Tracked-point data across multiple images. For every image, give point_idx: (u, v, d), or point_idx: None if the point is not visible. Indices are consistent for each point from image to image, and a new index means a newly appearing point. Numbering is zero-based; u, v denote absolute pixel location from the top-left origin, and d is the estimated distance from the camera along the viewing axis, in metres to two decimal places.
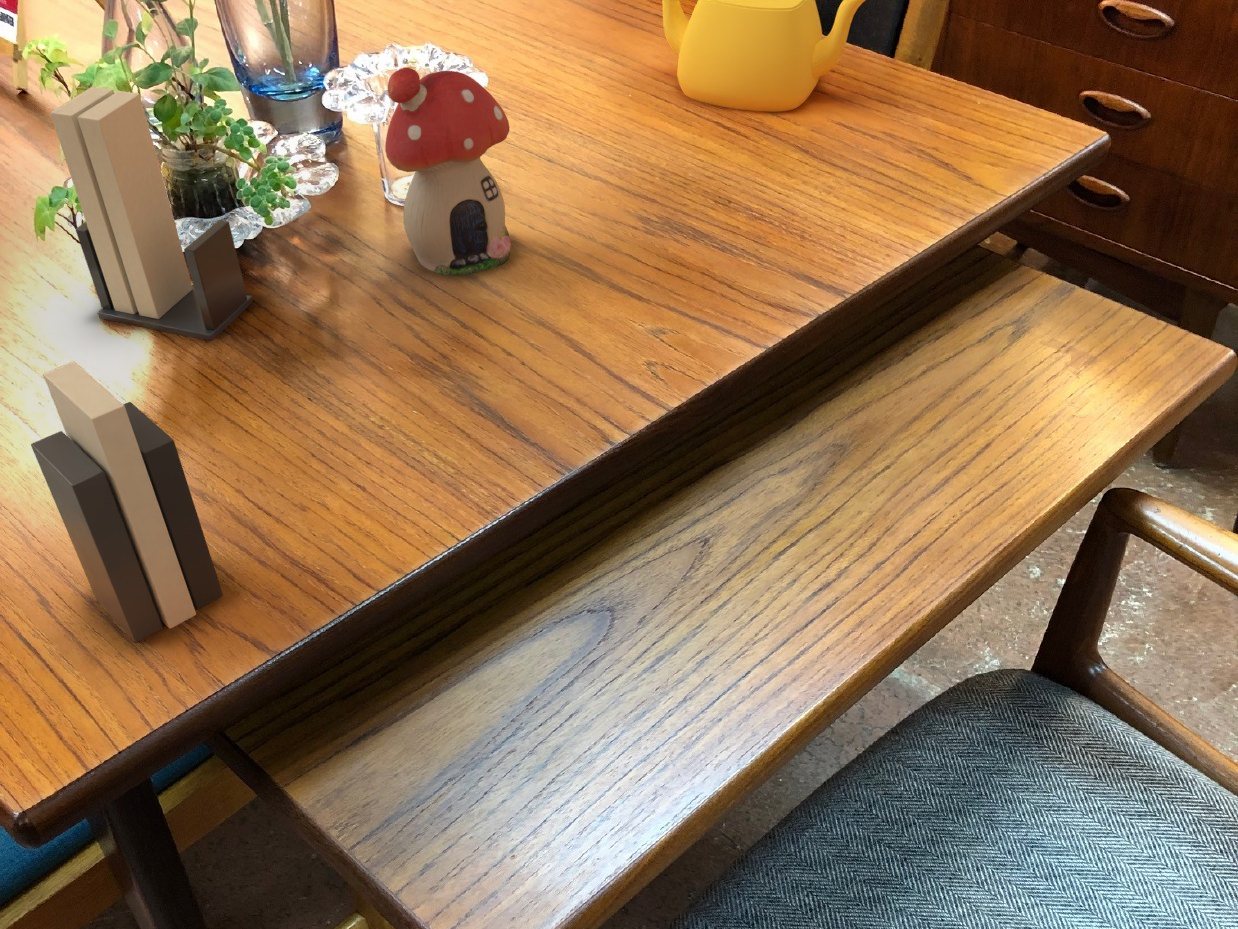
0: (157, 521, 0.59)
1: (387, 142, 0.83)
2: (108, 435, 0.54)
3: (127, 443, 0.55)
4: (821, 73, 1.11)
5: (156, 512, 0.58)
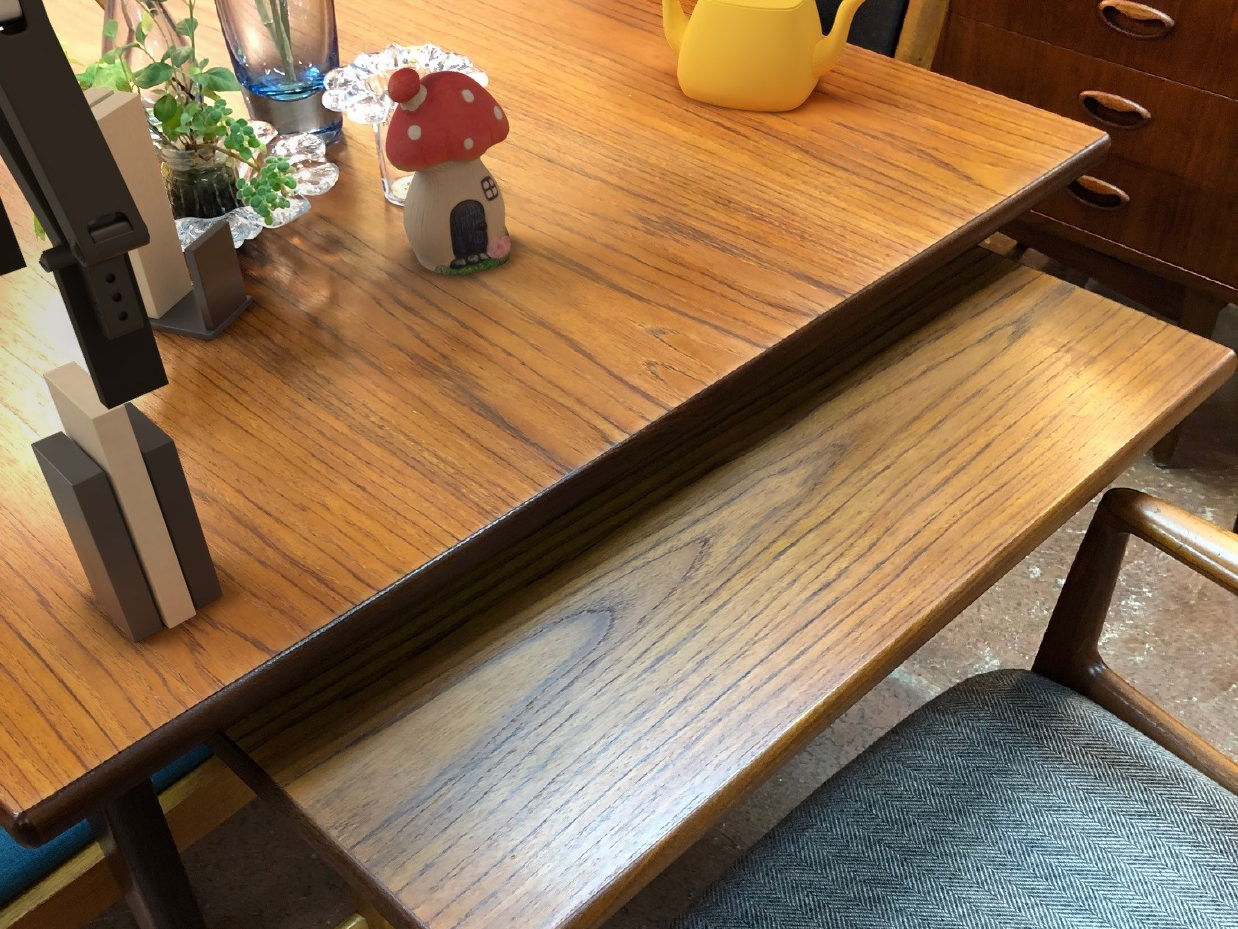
0: (157, 521, 0.59)
1: (387, 142, 0.83)
2: (108, 435, 0.54)
3: (127, 443, 0.55)
4: (821, 73, 1.11)
5: (156, 512, 0.58)
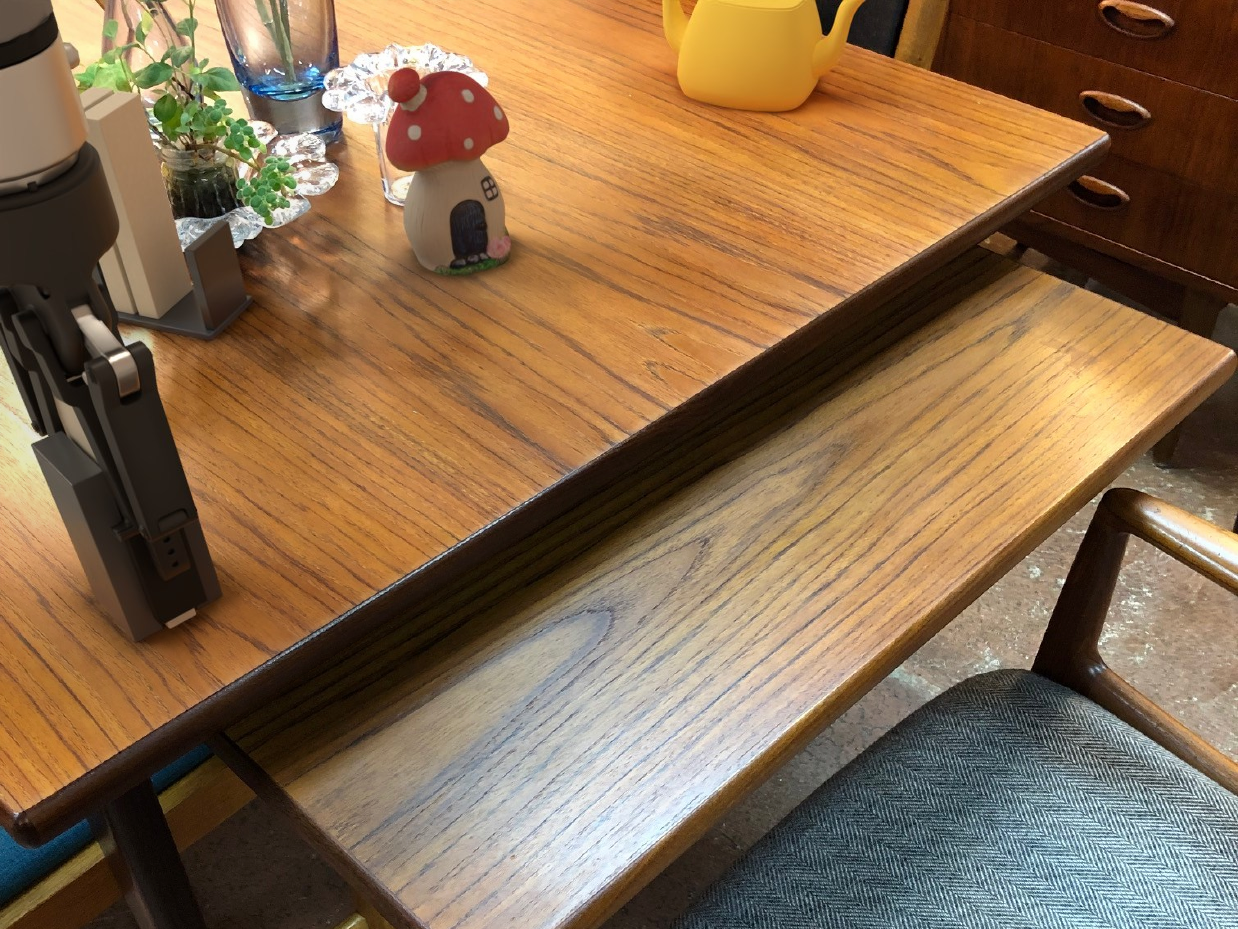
0: None
1: (387, 142, 0.83)
2: None
3: None
4: (821, 73, 1.11)
5: None
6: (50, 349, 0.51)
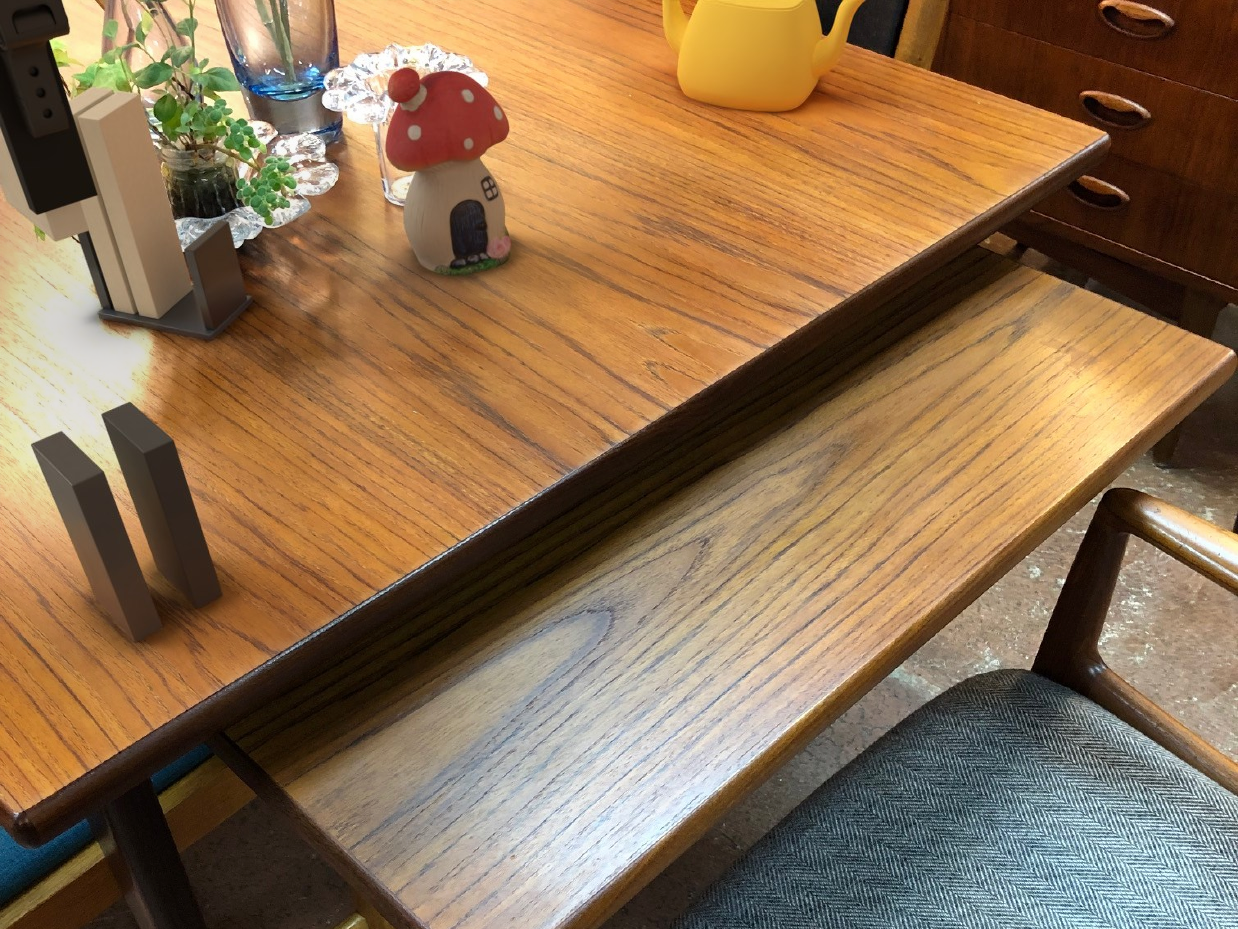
0: None
1: (387, 142, 0.83)
2: None
3: None
4: (821, 73, 1.11)
5: None
6: None
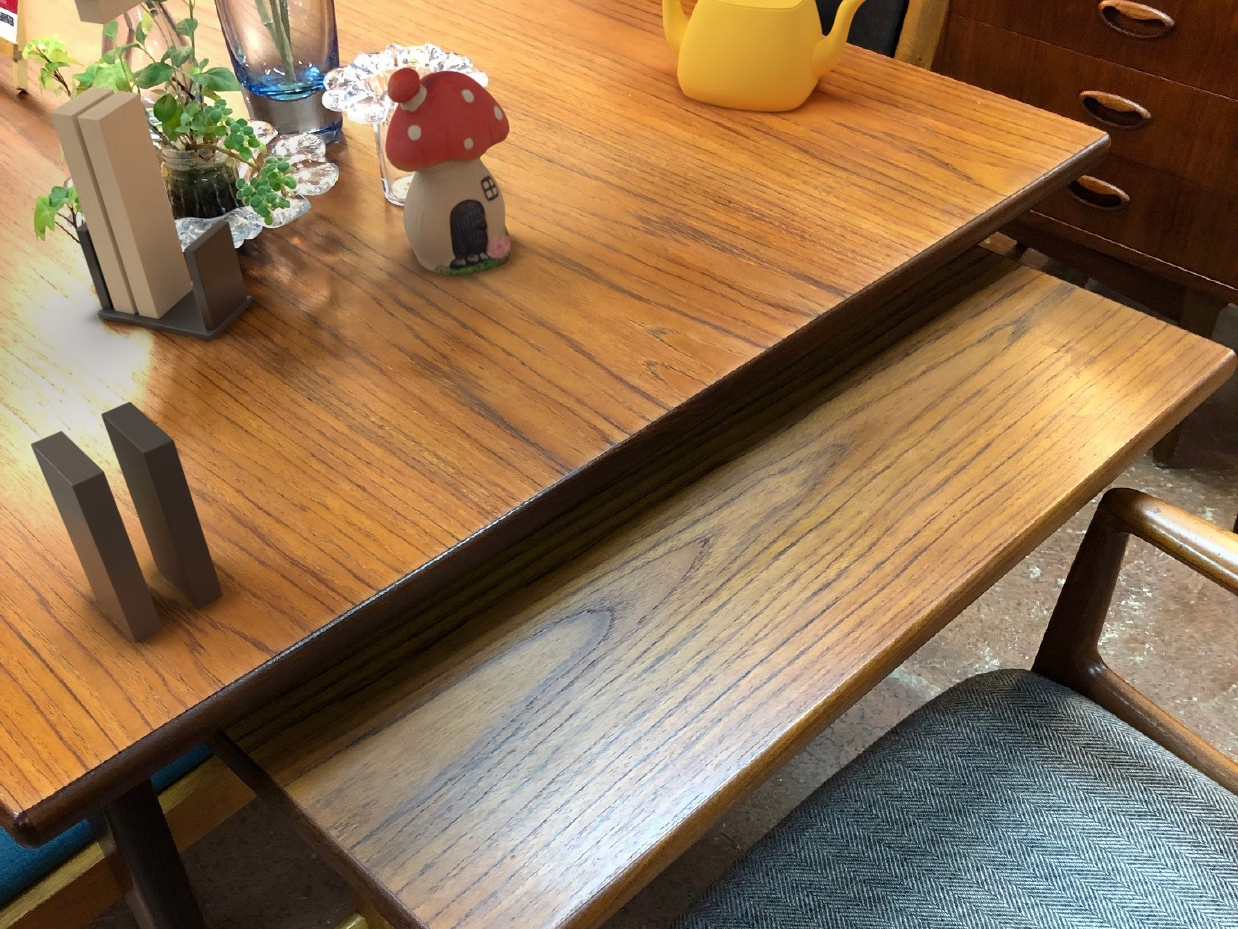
0: None
1: (387, 142, 0.83)
2: None
3: None
4: (821, 73, 1.11)
5: None
6: None
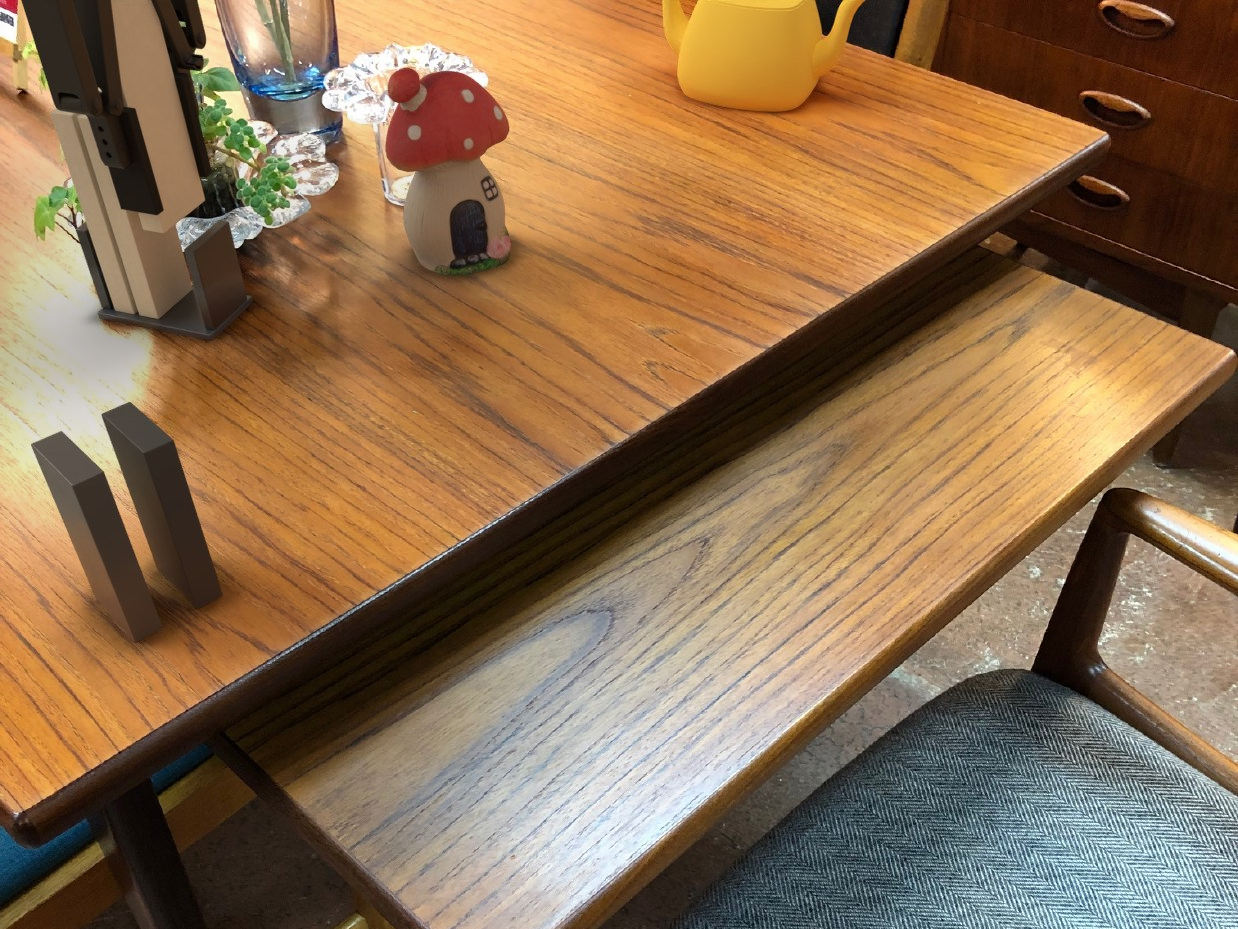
0: None
1: (387, 142, 0.83)
2: None
3: None
4: (821, 73, 1.11)
5: None
6: None
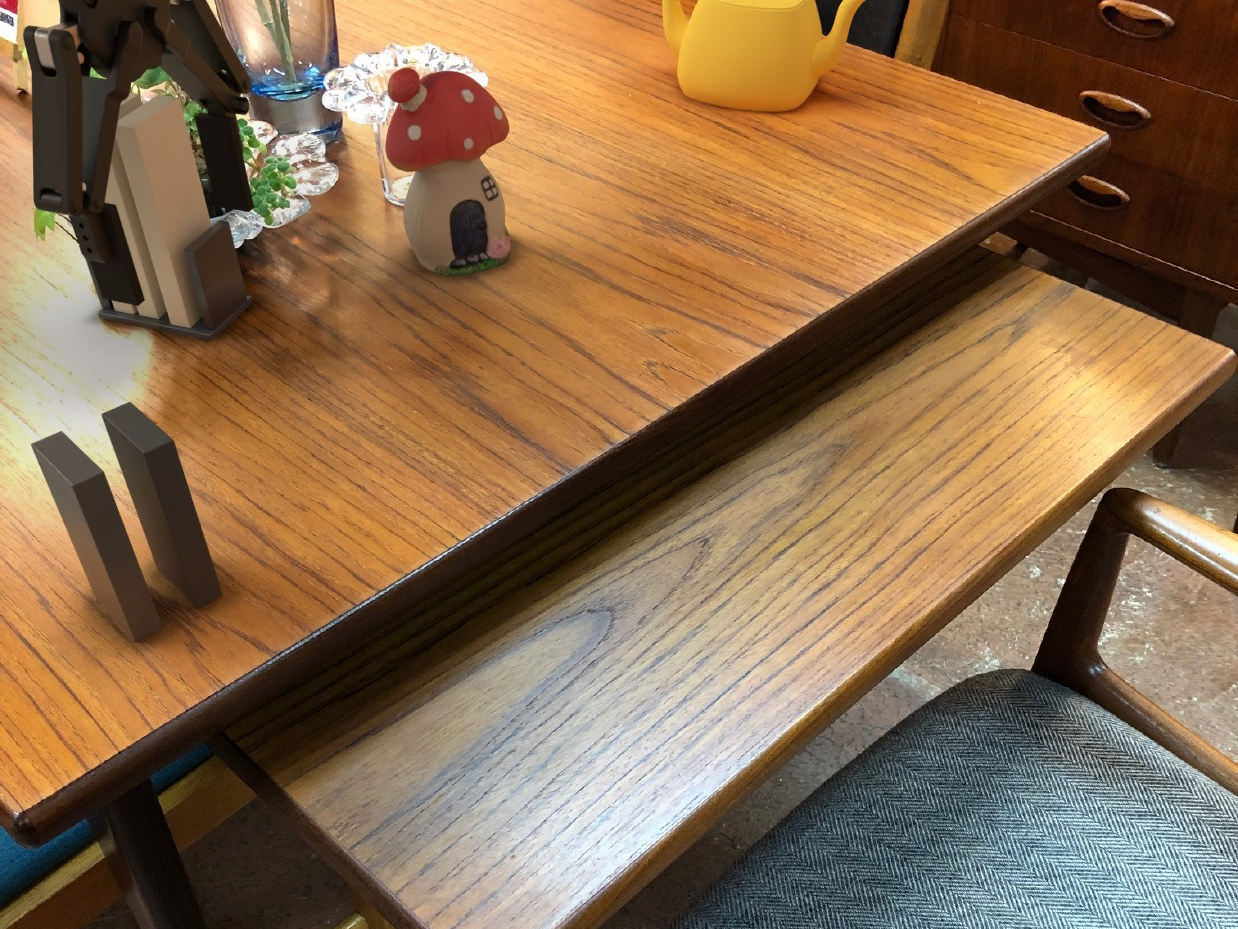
0: (158, 230, 0.78)
1: (387, 142, 0.83)
2: (123, 143, 0.74)
3: (136, 157, 0.74)
4: (821, 73, 1.11)
5: (157, 223, 0.77)
6: None
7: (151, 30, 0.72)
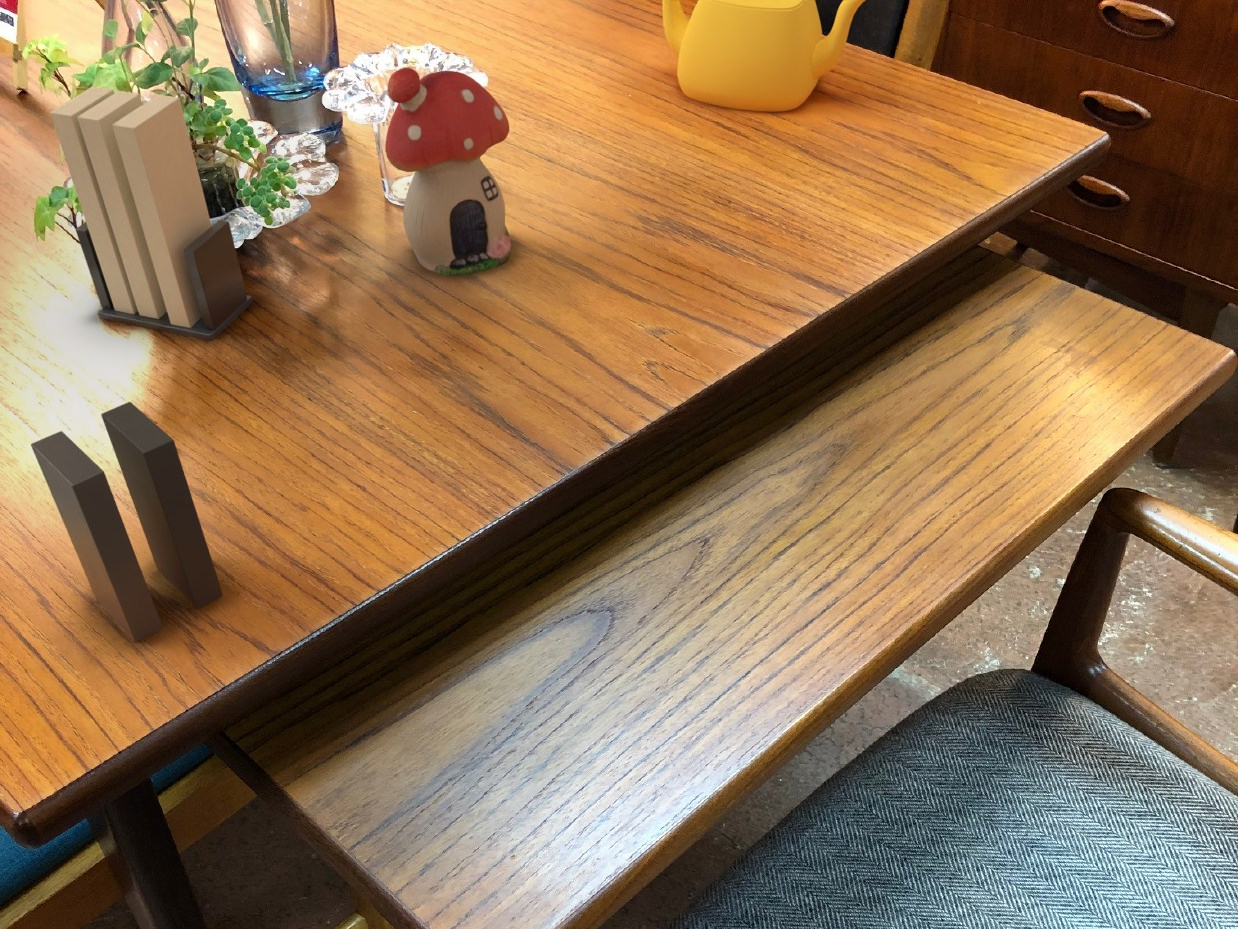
0: (158, 230, 0.78)
1: (387, 142, 0.83)
2: (123, 143, 0.74)
3: (136, 157, 0.74)
4: (821, 73, 1.11)
5: (157, 223, 0.77)
6: None
7: None
